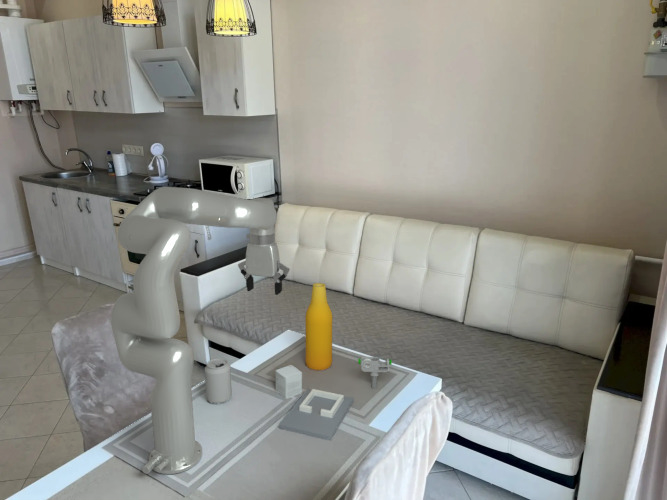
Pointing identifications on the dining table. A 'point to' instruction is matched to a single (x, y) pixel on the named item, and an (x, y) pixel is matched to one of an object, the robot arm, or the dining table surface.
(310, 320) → the beer bottle
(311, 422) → the board
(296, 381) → the product box
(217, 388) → the can
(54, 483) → the dining table surface
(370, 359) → the mechanical component
